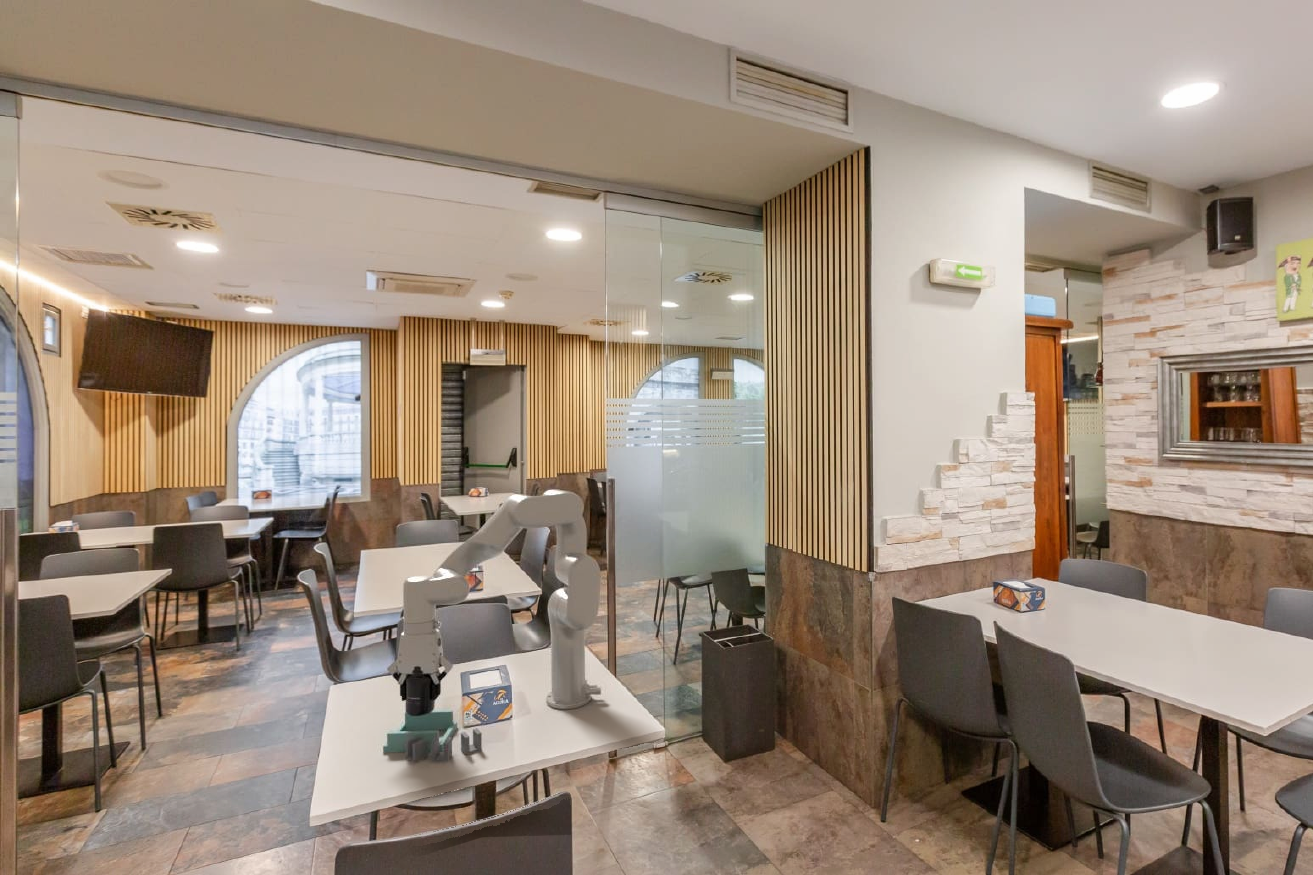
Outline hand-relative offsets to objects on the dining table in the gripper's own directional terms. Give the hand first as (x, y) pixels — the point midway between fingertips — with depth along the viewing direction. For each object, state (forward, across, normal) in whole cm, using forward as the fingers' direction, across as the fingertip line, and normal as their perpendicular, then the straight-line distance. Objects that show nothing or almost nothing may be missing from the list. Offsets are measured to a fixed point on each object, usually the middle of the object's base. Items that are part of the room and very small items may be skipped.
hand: (420, 697), depth 154 cm
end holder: (+10, 0, 0) cm, 10 cm away
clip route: (+10, -8, +7) cm, 15 cm away
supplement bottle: (+3, 0, 0) cm, 3 cm away
